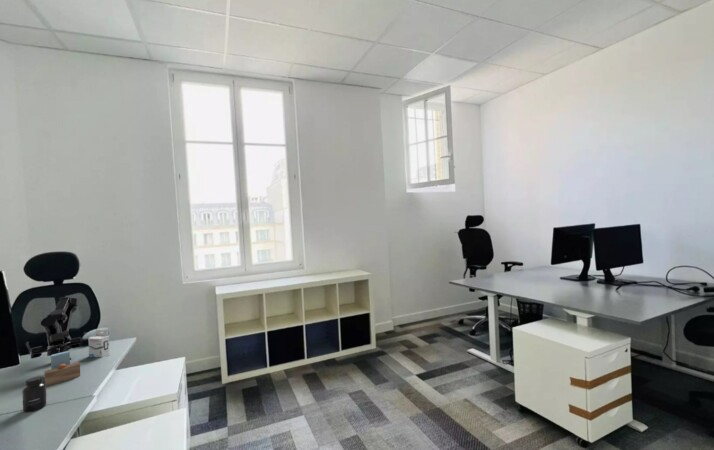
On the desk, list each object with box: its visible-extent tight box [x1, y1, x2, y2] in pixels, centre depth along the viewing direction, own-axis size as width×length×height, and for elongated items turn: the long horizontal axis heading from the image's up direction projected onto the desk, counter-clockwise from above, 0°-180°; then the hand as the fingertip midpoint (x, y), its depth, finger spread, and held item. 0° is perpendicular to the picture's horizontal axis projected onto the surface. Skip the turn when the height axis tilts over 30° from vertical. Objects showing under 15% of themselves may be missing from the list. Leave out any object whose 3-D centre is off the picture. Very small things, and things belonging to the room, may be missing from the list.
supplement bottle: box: [22, 375, 47, 413], centre depth 130 cm, size 7×7×12 cm
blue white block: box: [50, 350, 71, 369], centre depth 156 cm, size 4×6×11 cm, turn 140°
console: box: [42, 361, 81, 387], centre depth 155 cm, size 13×12×8 cm
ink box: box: [87, 329, 111, 358], centre depth 180 cm, size 8×5×15 cm, turn 84°
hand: (59, 362), depth 159 cm, fingers closed
